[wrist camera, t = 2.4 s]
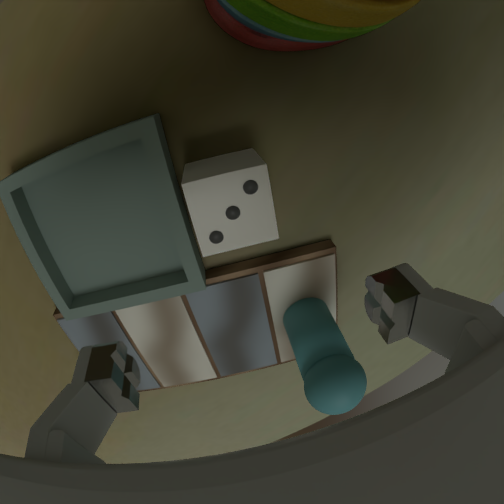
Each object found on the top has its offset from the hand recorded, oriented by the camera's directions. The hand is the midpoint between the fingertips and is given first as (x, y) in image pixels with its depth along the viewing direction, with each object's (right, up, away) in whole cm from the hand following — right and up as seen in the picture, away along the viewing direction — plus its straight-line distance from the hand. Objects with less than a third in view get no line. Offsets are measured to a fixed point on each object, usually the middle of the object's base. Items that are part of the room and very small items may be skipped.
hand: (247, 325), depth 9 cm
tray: (-10, +4, +10) cm, 15 cm away
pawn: (+5, -3, +16) cm, 17 cm away
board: (-4, -5, +17) cm, 18 cm away
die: (-2, +7, +11) cm, 13 cm away
